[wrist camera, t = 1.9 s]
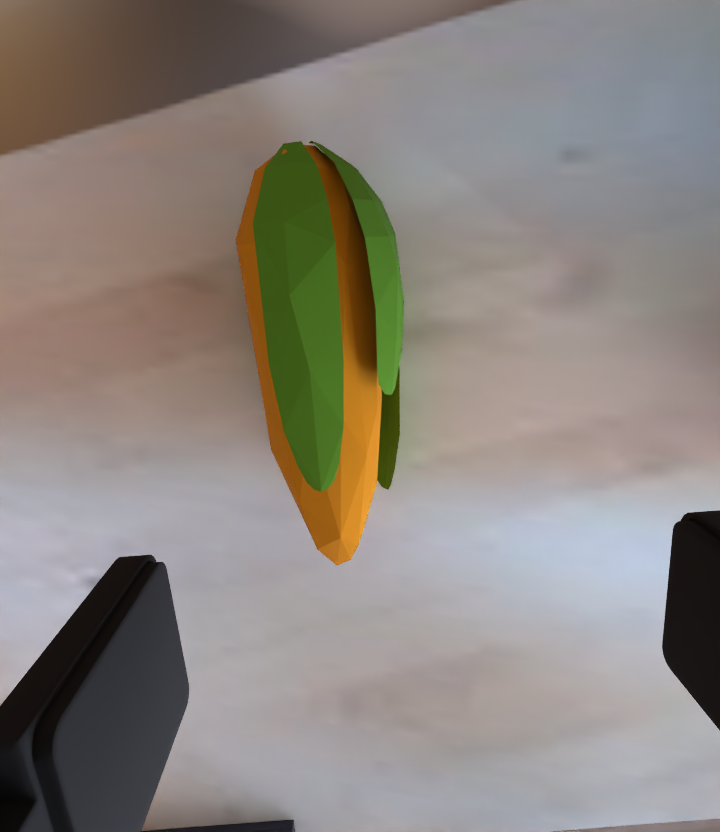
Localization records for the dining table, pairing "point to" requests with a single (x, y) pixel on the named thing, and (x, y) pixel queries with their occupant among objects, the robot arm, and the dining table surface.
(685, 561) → the robot arm
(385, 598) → the dining table surface
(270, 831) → the black tray
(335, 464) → the corn
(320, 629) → the dining table surface
